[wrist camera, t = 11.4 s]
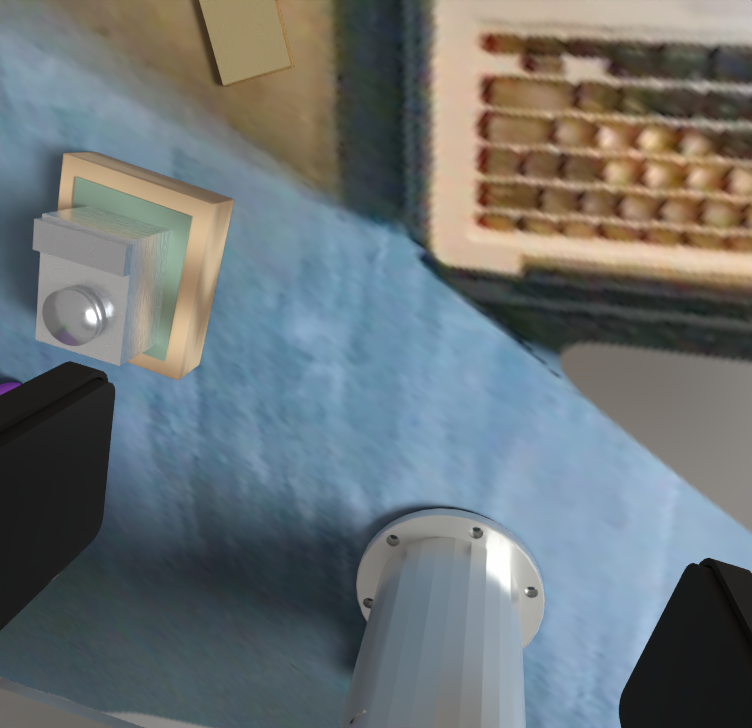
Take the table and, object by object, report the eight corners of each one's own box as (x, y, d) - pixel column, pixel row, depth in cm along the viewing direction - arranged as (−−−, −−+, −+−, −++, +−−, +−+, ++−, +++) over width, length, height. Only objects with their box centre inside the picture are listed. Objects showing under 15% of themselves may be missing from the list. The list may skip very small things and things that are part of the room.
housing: (89, 205, 36) (28, 215, 32) (171, 229, 36) (122, 243, 31) (80, 320, 39) (22, 345, 34) (156, 344, 38) (109, 372, 34)
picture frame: (199, 364, 42) (176, 381, 39) (74, 319, 43) (42, 332, 40) (234, 199, 38) (211, 204, 35) (95, 152, 39) (61, 153, 36)
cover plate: (297, 67, 35) (290, 65, 34) (231, 87, 36) (223, 85, 35) (267, -54, 34) (259, -61, 33) (199, -30, 35) (189, -36, 34)
